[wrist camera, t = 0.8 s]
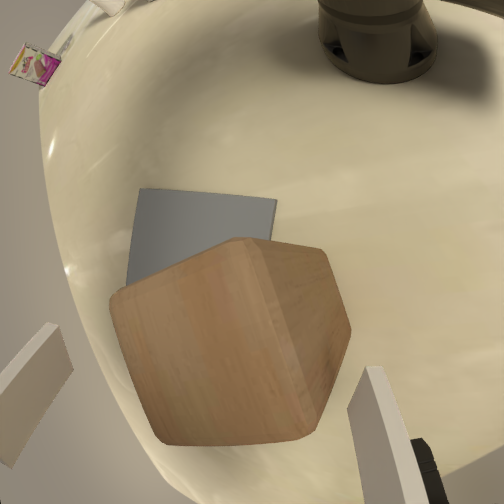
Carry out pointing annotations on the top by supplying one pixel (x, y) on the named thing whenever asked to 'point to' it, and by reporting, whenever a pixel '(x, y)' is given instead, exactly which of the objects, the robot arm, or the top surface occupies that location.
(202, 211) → the mat
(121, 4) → the cosmetic bottle
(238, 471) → the top surface
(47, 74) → the candy bar box
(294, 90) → the top surface
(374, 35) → the robot arm
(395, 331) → the top surface
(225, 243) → the wooden block
